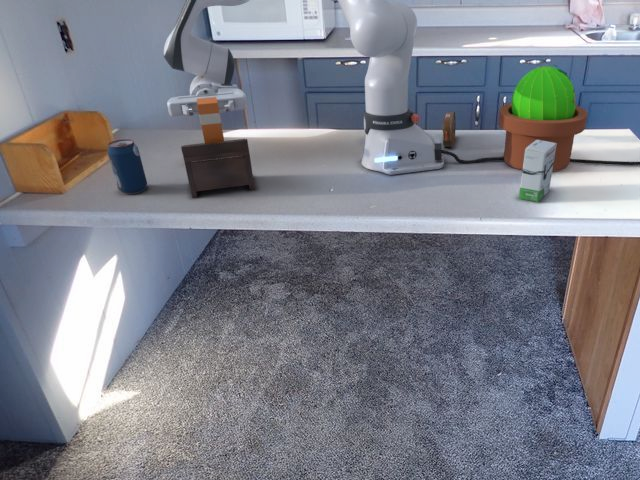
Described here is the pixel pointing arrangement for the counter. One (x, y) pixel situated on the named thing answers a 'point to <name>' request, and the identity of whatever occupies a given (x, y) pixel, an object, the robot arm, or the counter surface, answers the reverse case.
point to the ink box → (537, 170)
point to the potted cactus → (542, 116)
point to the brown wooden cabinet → (218, 165)
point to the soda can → (127, 166)
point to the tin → (449, 129)
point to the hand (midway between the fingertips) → (209, 110)
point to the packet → (210, 119)
